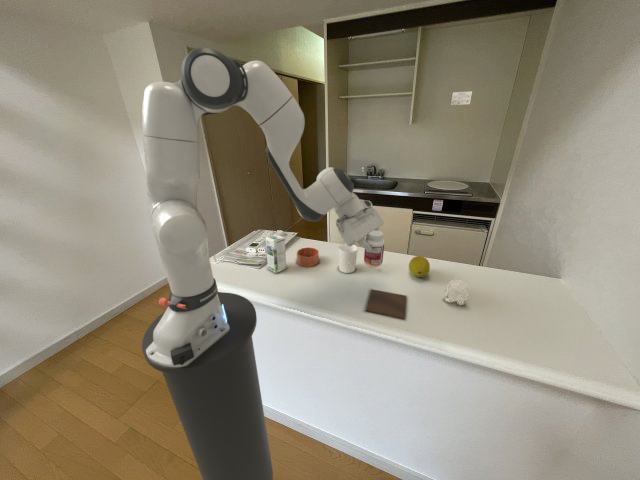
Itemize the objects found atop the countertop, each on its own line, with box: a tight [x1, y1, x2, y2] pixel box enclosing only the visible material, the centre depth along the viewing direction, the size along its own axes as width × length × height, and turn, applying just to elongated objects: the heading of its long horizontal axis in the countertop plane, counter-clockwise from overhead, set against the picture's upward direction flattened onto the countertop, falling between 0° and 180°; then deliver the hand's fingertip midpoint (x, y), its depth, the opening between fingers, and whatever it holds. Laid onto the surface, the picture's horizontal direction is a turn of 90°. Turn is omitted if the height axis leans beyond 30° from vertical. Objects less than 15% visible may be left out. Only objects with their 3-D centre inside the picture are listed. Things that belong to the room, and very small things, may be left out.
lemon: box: [408, 255, 431, 278], centre depth 101 cm, size 11×8×8 cm
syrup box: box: [265, 234, 287, 274], centre depth 105 cm, size 6×6×14 cm
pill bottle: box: [363, 230, 385, 268], centre depth 84 cm, size 6×6×11 cm
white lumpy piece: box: [444, 278, 470, 306], centre depth 88 cm, size 6×8×12 cm
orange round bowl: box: [296, 247, 320, 268], centre depth 113 cm, size 9×10×4 cm
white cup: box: [337, 243, 359, 274], centre depth 105 cm, size 8×8×10 cm
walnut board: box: [365, 288, 407, 320], centre depth 87 cm, size 12×12×1 cm
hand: (376, 246), depth 83 cm, fingers closed on pill bottle, 6 cm apart
